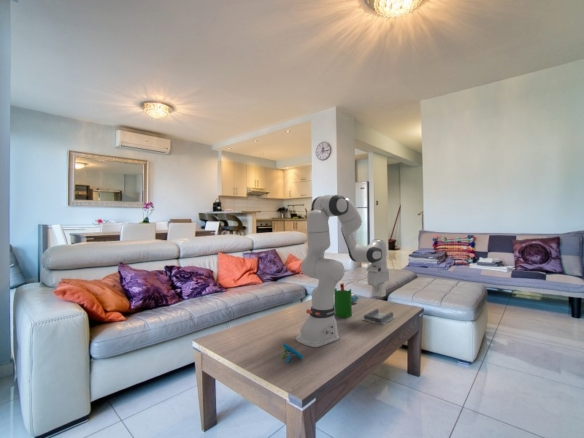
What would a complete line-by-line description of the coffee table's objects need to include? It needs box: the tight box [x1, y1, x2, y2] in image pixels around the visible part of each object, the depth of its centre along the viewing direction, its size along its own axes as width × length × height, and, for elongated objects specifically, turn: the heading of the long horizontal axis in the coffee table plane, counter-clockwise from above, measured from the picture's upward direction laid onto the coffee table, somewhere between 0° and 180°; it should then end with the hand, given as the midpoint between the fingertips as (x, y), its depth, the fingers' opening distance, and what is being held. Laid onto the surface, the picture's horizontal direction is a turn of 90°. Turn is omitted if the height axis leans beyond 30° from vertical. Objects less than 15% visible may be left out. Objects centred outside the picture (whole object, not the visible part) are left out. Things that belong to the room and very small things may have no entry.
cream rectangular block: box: [371, 282, 387, 298], centre depth 162 cm, size 5×6×7 cm
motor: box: [334, 282, 353, 319], centre depth 168 cm, size 10×9×20 cm
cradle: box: [361, 308, 396, 326], centre depth 160 cm, size 15×13×3 cm
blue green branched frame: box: [281, 343, 304, 364], centre depth 115 cm, size 11×6×10 cm
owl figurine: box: [334, 289, 361, 307], centre depth 195 cm, size 28×9×15 cm
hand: (379, 290), depth 162 cm, fingers closed on cream rectangular block, 5 cm apart
